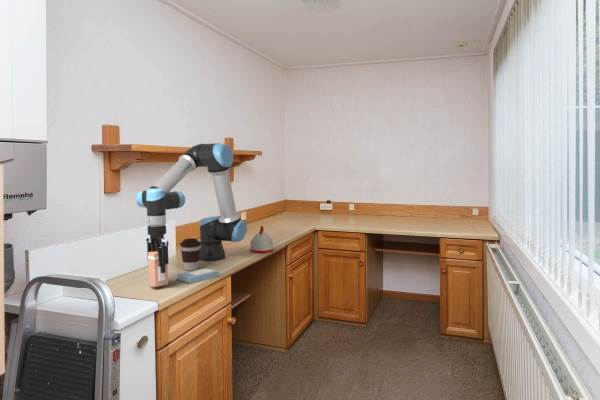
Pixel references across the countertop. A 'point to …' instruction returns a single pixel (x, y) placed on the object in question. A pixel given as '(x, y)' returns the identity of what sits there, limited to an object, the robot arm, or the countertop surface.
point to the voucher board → (197, 275)
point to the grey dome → (261, 243)
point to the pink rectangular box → (155, 270)
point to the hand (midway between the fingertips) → (158, 279)
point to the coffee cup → (190, 254)
